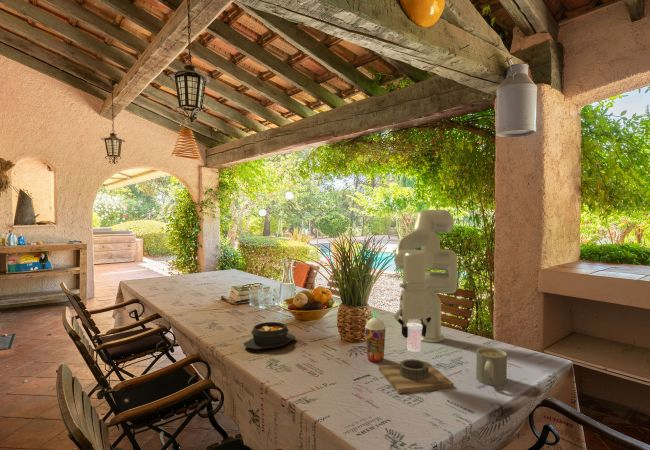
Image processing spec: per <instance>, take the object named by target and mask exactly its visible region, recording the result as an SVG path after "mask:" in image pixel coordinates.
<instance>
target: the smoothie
mask: <svg viewBox="0 0 650 450" xmlns="http://www.w3.org/2000/svg"><path fill="white" fill-rule="evenodd" d="M364 328H365V329H364V330H365V344H366V346H365V347H366V357H367V358H368V361H369V362H372V363H380V362H383V360H384V357H385V342H386V328H387V326H386V325H385V323H384V321H383V320H382V319H381V318H379V317H377V310H375V311H374V316H373V317H372V318H369V319H368V321H367V322H366V324H365V326H364Z"/></svg>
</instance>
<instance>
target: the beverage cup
mask: <svg viewBox="0 0 650 450" xmlns="http://www.w3.org/2000/svg"><path fill="white" fill-rule="evenodd" d="M406 326H407V327H408V337H407V338H406V345H407V347H406V348H407V351H409V352H412V353H419V352H421V348H422V340H421V335H422V328H423V325H422V324H420V323H417V322H416V319H414V320H413V322H407V325H406Z"/></svg>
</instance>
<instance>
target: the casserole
mask: <svg viewBox="0 0 650 450" xmlns="http://www.w3.org/2000/svg"><path fill="white" fill-rule="evenodd" d="M250 333H251V335H252V338H250V339H249V340H247V341H245V342H244V343H243V346H244V347H246V348H248V349H252V350H263V349H275V348H279V347H283V346H286V345H288V344H289V343H290V342H291V341H293V340H295V339H296V336H295V335H294V334H292V333H290V332H289V329H288V327H287V324H285V323H283V322H277V321H275V322H273V321H269V322H262V323H257V324H255V325H254V326H253V328H252V329H251V332H250Z"/></svg>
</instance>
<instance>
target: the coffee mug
mask: <svg viewBox="0 0 650 450" xmlns="http://www.w3.org/2000/svg"><path fill="white" fill-rule="evenodd" d="M507 355H508V354H507V353H506V351H504V350H503V349H499V348H493V347H478V348H477V349H476V365H475V369H476V371H475V372H476V378H475V379H476V380H477V382H480V383H481V384H484V385H487V386H492V387H502V386H505V385H506V384H507V375H508V374H507V373H508V372H507V368H508V367H507V365H508V362H507V361H508V357H507Z"/></svg>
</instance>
